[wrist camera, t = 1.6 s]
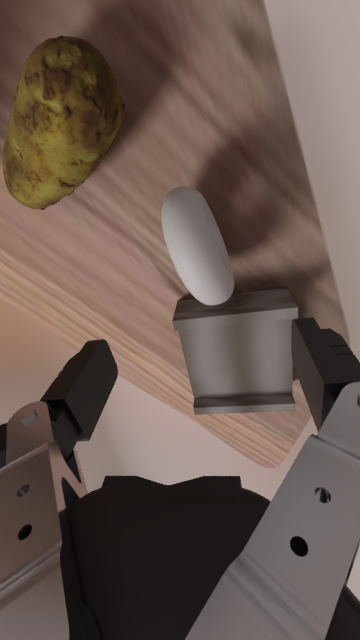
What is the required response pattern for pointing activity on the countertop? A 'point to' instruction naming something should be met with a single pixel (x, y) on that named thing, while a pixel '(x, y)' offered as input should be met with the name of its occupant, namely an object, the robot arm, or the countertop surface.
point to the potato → (59, 121)
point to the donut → (197, 246)
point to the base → (239, 351)
